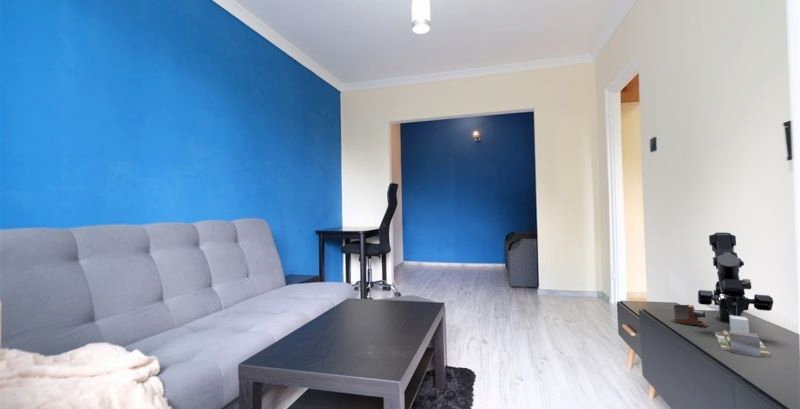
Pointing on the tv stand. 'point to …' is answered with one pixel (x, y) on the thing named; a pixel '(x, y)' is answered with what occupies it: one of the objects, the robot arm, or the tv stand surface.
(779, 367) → the tv stand surface
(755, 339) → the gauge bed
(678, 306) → the electronic device
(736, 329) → the white rectangular block
